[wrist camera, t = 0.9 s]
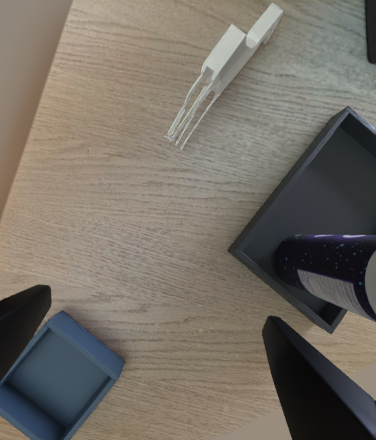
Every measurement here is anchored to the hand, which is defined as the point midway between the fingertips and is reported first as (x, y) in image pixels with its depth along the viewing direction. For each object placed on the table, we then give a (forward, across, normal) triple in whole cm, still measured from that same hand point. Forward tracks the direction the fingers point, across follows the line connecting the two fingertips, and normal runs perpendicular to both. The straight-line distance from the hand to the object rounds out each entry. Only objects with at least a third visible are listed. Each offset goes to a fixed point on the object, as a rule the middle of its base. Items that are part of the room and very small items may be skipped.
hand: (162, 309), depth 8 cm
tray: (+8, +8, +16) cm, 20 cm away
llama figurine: (+21, -3, -14) cm, 25 cm away
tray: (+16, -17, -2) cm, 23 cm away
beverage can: (+13, -14, +3) cm, 20 cm away
